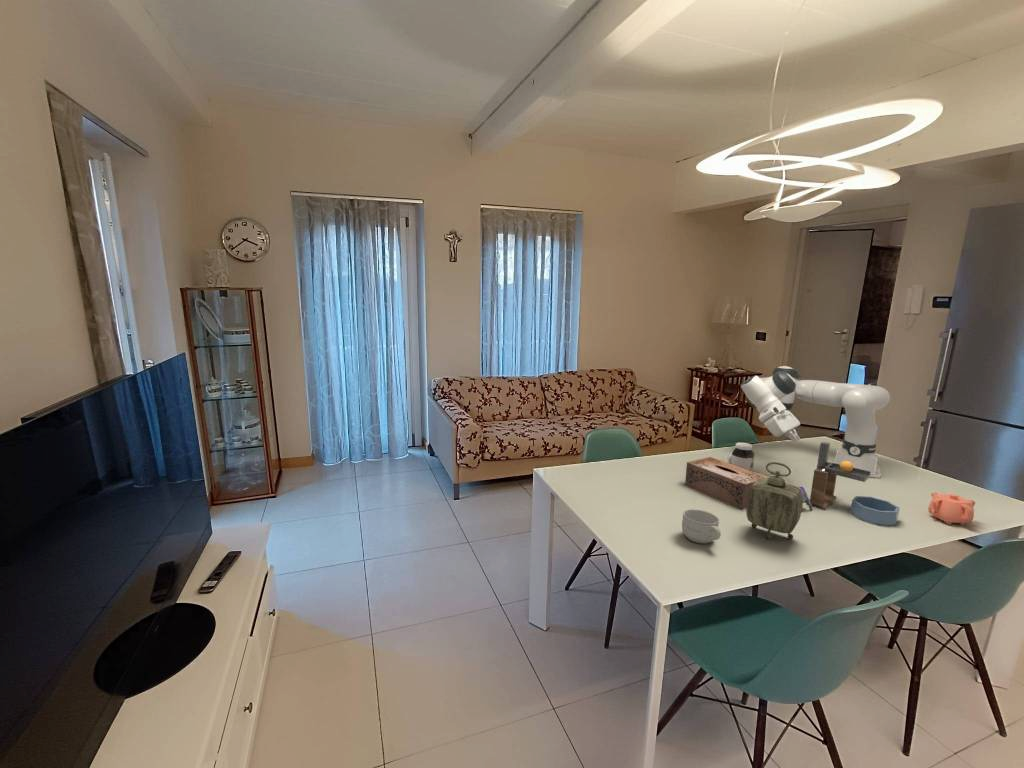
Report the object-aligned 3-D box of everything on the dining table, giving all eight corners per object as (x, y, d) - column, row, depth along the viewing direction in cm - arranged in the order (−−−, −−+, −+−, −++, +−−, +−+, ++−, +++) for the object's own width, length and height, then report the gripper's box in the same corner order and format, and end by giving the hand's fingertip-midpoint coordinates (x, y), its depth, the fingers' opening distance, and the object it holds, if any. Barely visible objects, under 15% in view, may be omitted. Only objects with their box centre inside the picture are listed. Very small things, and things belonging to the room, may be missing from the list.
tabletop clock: (797, 539, 148) (808, 465, 143) (791, 550, 141) (802, 473, 136) (749, 524, 157) (757, 454, 153) (741, 533, 151) (749, 461, 146)
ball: (840, 468, 171) (842, 458, 170) (853, 472, 168) (855, 461, 167) (837, 471, 169) (839, 461, 168) (850, 474, 166) (852, 464, 165)
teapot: (928, 509, 170) (933, 485, 169) (973, 521, 161) (978, 495, 160) (922, 518, 163) (927, 493, 161) (969, 531, 154) (974, 504, 152)
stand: (818, 494, 182) (823, 460, 180) (836, 499, 178) (841, 464, 175) (806, 504, 173) (811, 469, 170) (824, 510, 168) (830, 474, 166)
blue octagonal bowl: (856, 505, 173) (858, 493, 172) (899, 518, 163) (902, 504, 162) (846, 515, 164) (849, 502, 163) (892, 529, 155) (894, 515, 154)
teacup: (675, 530, 152) (677, 508, 150) (706, 529, 153) (708, 507, 151) (695, 553, 138) (697, 529, 137) (729, 552, 139) (732, 528, 138)
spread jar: (744, 474, 202) (746, 449, 200) (719, 466, 211) (722, 442, 209) (757, 468, 209) (760, 444, 207) (733, 461, 218) (736, 438, 216)
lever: (821, 466, 178) (825, 439, 176) (870, 478, 167) (874, 449, 165) (813, 472, 172) (817, 444, 170) (863, 485, 161) (868, 455, 159)
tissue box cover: (684, 485, 190) (686, 462, 188) (707, 478, 197) (710, 456, 195) (742, 510, 168) (745, 484, 166) (766, 502, 175) (769, 477, 173)
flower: (817, 489, 170) (793, 477, 170) (822, 507, 164) (797, 494, 164) (798, 503, 176) (775, 491, 176) (803, 520, 169) (779, 508, 169)
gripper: (776, 411, 193) (799, 439, 188) (756, 419, 180) (780, 450, 174) (789, 403, 189) (813, 431, 184) (770, 411, 176) (795, 441, 170)
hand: (797, 440), depth 179 cm, fingers closed
